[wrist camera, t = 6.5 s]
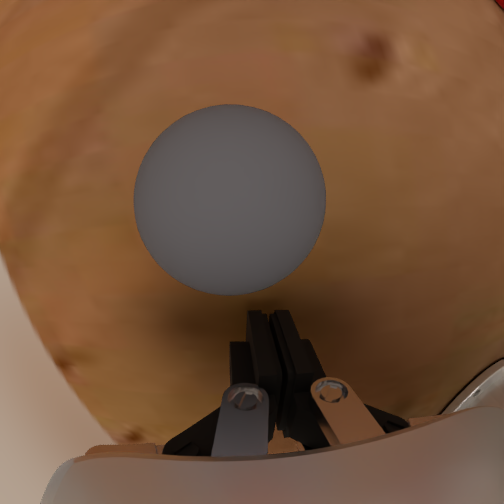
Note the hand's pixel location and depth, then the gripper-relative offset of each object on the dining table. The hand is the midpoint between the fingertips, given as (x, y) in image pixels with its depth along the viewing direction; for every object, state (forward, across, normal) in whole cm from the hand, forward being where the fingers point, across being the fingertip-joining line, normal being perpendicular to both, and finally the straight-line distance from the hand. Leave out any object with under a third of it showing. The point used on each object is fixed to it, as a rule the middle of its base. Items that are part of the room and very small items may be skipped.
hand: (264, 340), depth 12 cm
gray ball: (-1, +2, -6) cm, 6 cm away
